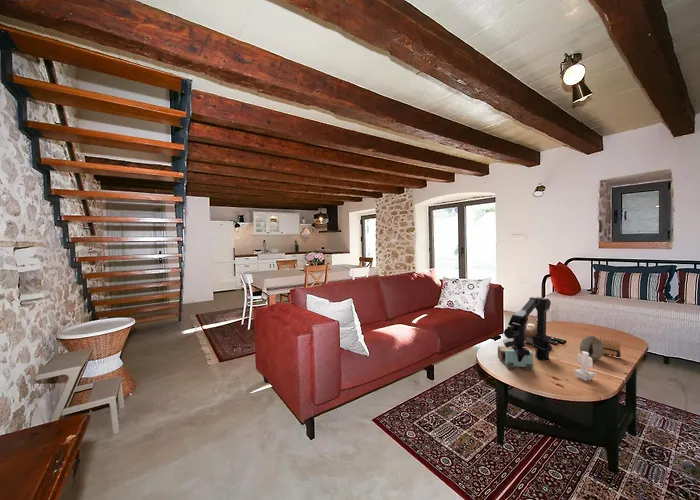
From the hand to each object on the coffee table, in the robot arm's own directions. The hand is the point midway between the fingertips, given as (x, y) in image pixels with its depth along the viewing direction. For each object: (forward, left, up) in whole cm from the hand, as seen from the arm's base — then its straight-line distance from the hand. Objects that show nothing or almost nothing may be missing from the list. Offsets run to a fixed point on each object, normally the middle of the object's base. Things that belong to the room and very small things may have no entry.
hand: (518, 360), depth 175 cm
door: (0, 0, -3) cm, 3 cm away
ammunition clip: (-62, -29, -5) cm, 69 cm away
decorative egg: (-48, -21, -5) cm, 53 cm away
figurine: (-31, +7, -5) cm, 32 cm away
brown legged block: (0, -6, -5) cm, 7 cm away
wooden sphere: (-22, -44, -5) cm, 49 cm away
